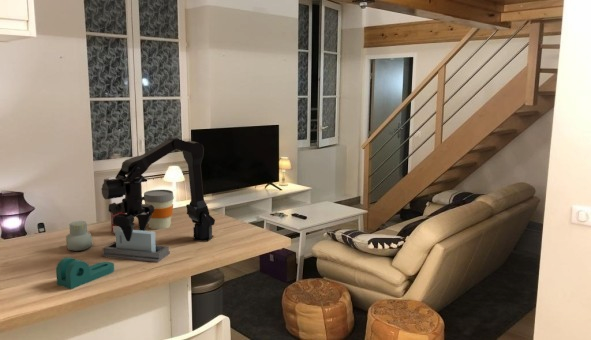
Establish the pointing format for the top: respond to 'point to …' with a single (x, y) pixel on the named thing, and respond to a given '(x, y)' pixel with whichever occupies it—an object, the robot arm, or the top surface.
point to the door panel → (136, 240)
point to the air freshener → (78, 236)
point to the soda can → (113, 226)
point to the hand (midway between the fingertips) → (135, 237)
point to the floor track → (135, 253)
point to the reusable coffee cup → (160, 208)
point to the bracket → (80, 272)
